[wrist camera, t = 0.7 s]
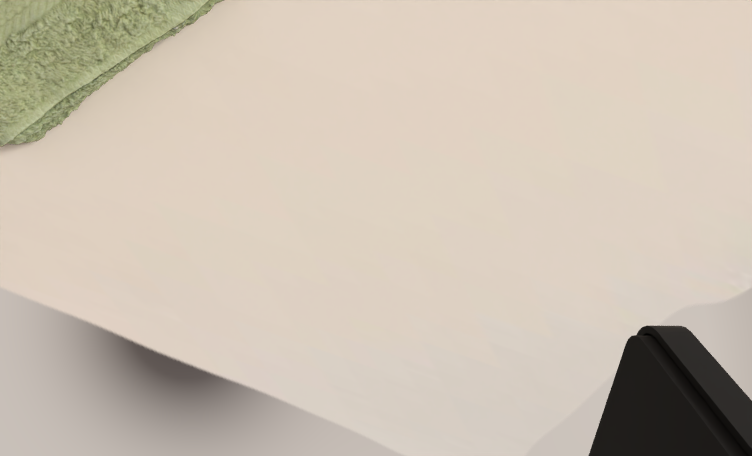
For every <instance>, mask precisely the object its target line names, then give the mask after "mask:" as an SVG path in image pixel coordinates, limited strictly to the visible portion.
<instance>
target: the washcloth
mask: <svg viewBox="0 0 752 456" xmlns="http://www.w3.org/2000/svg"><path fill="white" fill-rule="evenodd" d="M221 1H223V0H0V147H2V146H4V145H5V144H7V143H9V144H21V143H28V142H33V141H38V140H40V139H41V138H43V137H44V136H45V133H46V131H47V130H51V129H52V127H56V125H57V124H60V125H61V124H62V122H63V120H64V119H65V118H67V117H69V114H70V113H71V112H72V111H73V110H77V109H78V107H79V105H80V103H81V102H82V101H84V99H85V98H86V97H87V96H89V95H91V94H92V92H94V91H96V90H99V88H100V87H101V86H102V85H103V84H105V83H106V82H107V81H108V80H109V79H112V78H113V76H115V75H116V74H117V73H118V72H120V71H123V70H124V69H125V68H126V67H127V66H128V65H129V64H131V63H132V62H134V60H136V59H137V58H139V57H140V56H141V55H142V54H143V53H146V52H148V51H151V49H152V47H153V45H154V44H155V43H157V42H158V41H160V40H163V39H166V38H167V37H169V36H171V35H173V36H175V34H176V33H179V31H180V30H181V29H182V28H184V27H185V26H186V25H190V24H193V23H194V22H195V21H196V20H197V19H198V18H199V17H200V16H203V15H204V14H207V13H208V12H209V11H210V10H211V9H212V6H214V4H216V3H217V2H221Z"/></svg>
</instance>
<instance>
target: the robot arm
mask: <svg viewBox="0 0 752 456" xmlns="http://www.w3.org/2000/svg"><path fill="white" fill-rule="evenodd" d="M589 456H752V401H751V400H750V398H749V397H748V396H747V395H746V394H745V393H744V392H743V390H742V389H741V388H740V387H739V386H738V385H737V384H736V383H735V381H734V380H733V379H732V378H731V377H730V376H729V375H728V373H727V372H726V371H725V370H724V369H723V368H722V367H721V365H720V364H719V363H718V362H717V361H716V360H715V359H714V357H713V356H712V355H711V354H710V353H709V352H708V351H707V350H706V348H705V347H704V346H703V345H702V344H701V343H700V342H699V340H698V339H697V338H696V337H695V336H694V335H693V334H692V332H691V331H689V330H688V329H687V328H686V327H682V326H645V327H642V328H641V329H640V330H639V331H638V333H637V335H635V336H631V337H630V338H629V339H628V341H627V343H626V346H625V349H624V352H623V355H622V358H621V361H620V364H619V367H618V370H617V373H616V376H615V379H614V382H613V385H612V388H611V391H610V393H609V396H608V399H607V402H606V405H605V409H604V412H603V414H602V418H601V421H600V423H599V427H598V429H597V432H596V435H595V439H594V441H593V444H592V448H591V451H590V453H589Z"/></svg>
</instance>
